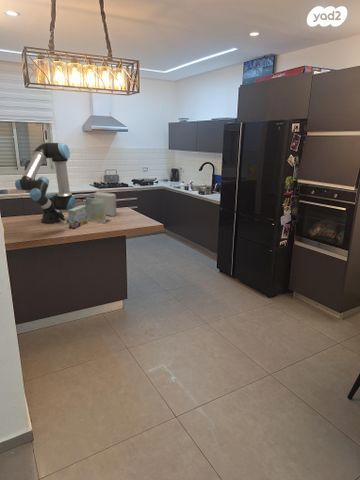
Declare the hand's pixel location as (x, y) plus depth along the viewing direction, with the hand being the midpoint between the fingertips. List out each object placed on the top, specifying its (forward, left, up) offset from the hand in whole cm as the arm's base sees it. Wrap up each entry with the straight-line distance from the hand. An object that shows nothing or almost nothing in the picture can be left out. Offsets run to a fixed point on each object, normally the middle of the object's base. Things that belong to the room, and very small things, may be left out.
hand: (65, 222), depth 254 cm
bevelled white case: (-3, +57, -6) cm, 57 cm away
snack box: (0, +15, -6) cm, 16 cm away
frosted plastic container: (+5, +35, -6) cm, 36 cm away
